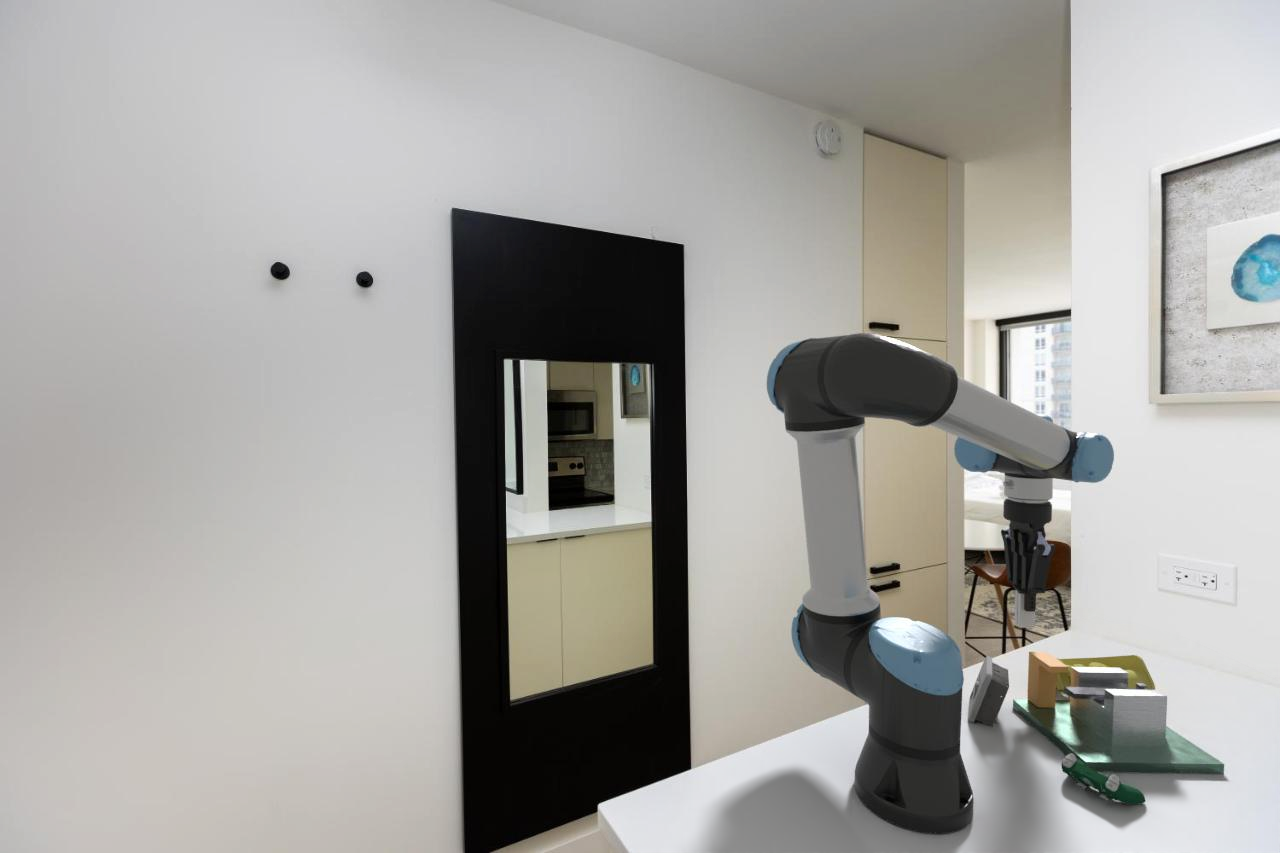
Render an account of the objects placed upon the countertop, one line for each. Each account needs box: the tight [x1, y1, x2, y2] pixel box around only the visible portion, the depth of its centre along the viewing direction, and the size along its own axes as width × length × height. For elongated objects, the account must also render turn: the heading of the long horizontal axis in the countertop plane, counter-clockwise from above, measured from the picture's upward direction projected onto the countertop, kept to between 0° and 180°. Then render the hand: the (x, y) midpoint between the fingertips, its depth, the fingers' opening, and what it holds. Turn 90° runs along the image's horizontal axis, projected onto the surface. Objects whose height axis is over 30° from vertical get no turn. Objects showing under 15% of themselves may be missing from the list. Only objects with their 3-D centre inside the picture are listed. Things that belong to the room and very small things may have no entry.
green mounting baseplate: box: [1012, 667, 1225, 775], centre depth 102 cm, size 20×19×10 cm
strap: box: [1063, 687, 1148, 700], centre depth 102 cm, size 14×3×1 cm, turn 88°
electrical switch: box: [967, 655, 1010, 727], centre depth 109 cm, size 9×5×9 cm, turn 151°
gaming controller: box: [1060, 753, 1146, 805], centre depth 88 cm, size 9×4×6 cm
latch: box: [1026, 651, 1068, 708], centre depth 108 cm, size 3×6×9 cm, turn 178°
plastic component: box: [1055, 654, 1156, 691], centre depth 119 cm, size 20×7×10 cm
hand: (1024, 625), depth 116 cm, fingers closed
